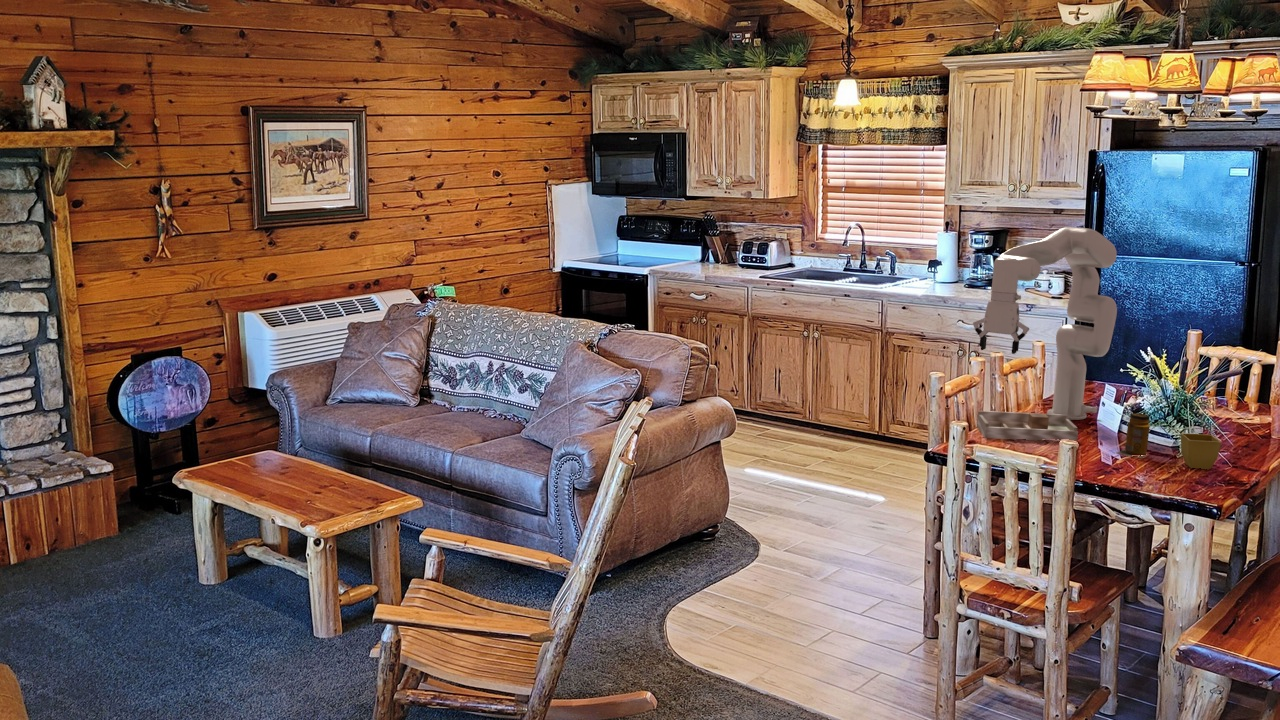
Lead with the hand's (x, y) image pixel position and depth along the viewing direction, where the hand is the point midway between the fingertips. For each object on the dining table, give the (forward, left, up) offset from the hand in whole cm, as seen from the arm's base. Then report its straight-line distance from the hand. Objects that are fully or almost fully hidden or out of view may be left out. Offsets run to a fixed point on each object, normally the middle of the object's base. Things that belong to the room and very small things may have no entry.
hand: (998, 351), depth 355 cm
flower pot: (-53, +29, -27) cm, 66 cm away
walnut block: (-14, 0, -24) cm, 28 cm away
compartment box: (-11, 0, -27) cm, 29 cm away
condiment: (-39, +17, -27) cm, 50 cm away
